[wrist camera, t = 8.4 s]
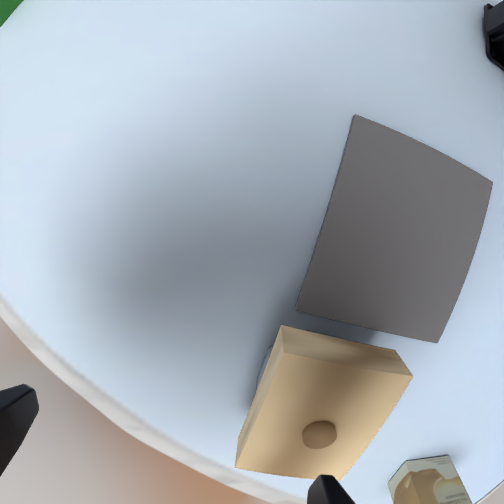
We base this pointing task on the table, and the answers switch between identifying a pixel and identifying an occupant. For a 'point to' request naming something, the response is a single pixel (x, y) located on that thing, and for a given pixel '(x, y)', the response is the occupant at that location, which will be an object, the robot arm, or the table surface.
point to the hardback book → (7, 9)
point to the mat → (395, 235)
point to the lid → (319, 405)
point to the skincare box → (428, 483)
